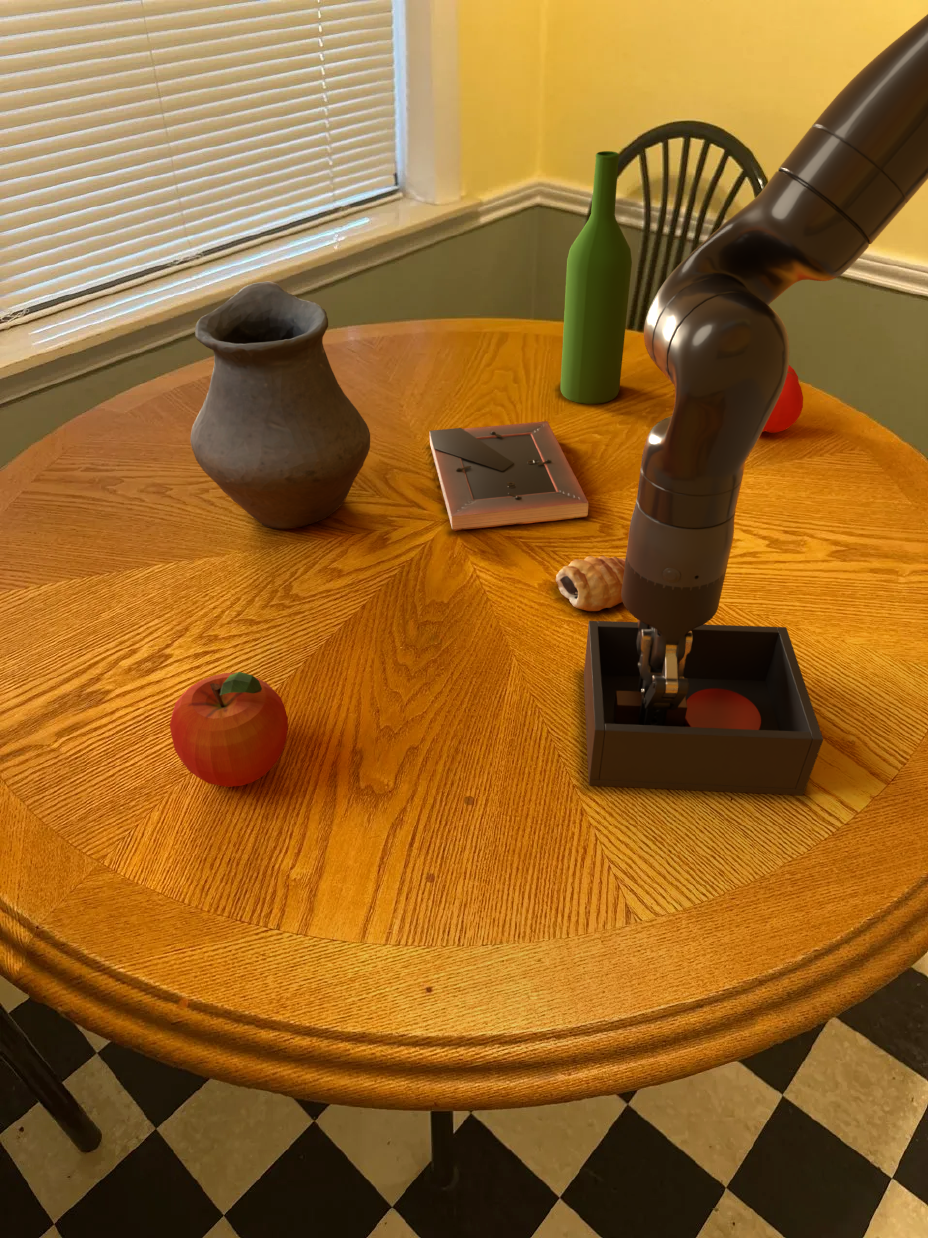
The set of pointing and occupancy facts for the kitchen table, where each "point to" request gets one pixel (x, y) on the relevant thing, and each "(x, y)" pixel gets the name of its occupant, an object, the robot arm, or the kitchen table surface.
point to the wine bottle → (596, 296)
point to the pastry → (592, 582)
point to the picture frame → (505, 476)
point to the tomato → (786, 405)
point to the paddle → (695, 710)
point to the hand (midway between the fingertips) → (649, 714)
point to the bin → (695, 754)
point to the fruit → (229, 729)
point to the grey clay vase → (276, 410)
